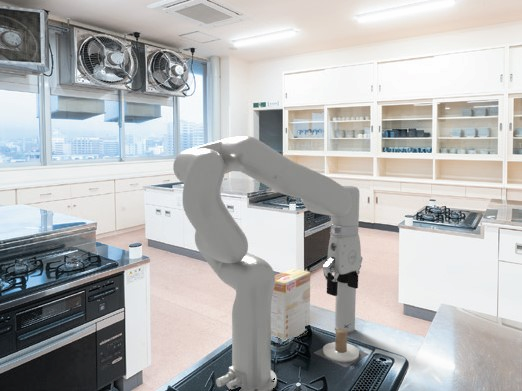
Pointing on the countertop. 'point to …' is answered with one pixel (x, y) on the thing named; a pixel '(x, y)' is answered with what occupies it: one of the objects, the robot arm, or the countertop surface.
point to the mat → (344, 364)
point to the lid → (341, 348)
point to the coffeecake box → (290, 304)
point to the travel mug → (345, 305)
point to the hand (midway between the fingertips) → (342, 290)
